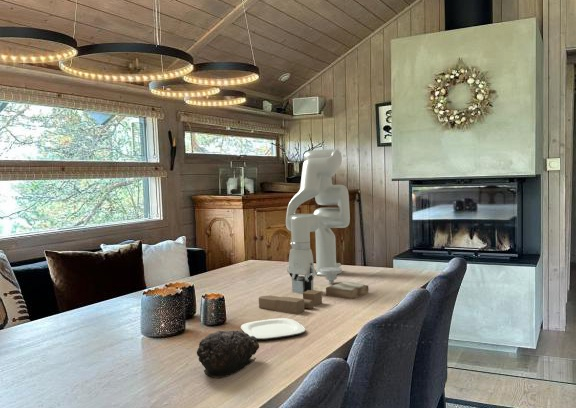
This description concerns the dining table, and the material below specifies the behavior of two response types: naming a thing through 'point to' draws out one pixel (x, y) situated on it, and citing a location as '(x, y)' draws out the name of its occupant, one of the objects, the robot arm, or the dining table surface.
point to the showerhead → (331, 273)
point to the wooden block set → (291, 302)
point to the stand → (347, 290)
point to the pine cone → (226, 352)
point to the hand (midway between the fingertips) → (302, 289)
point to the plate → (273, 328)
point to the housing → (300, 285)
